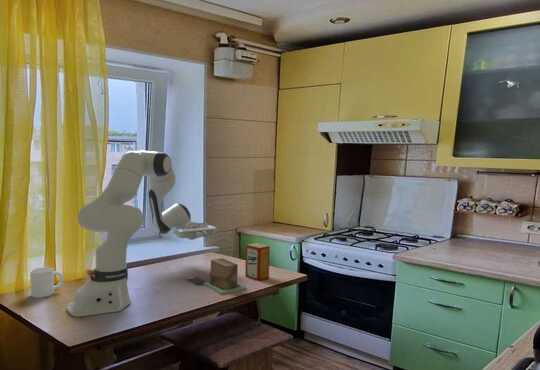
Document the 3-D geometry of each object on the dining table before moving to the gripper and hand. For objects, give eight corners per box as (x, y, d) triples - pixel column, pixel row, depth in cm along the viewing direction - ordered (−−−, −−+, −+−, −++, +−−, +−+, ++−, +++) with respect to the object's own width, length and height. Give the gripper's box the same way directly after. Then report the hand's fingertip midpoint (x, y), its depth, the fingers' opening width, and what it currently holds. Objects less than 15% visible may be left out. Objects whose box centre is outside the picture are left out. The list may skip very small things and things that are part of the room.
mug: (61, 288, 178) (61, 265, 177) (65, 294, 172) (65, 269, 171) (29, 293, 171) (28, 269, 170) (32, 299, 164) (31, 274, 164)
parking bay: (220, 294, 175) (220, 292, 174) (203, 284, 187) (203, 282, 187) (246, 288, 182) (246, 286, 182) (228, 279, 195) (228, 277, 195)
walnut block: (225, 291, 179) (225, 266, 178) (210, 283, 189) (210, 259, 188) (237, 289, 182) (237, 264, 181) (222, 281, 193) (222, 258, 192)
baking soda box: (245, 276, 201) (245, 243, 199) (255, 274, 205) (255, 242, 204) (258, 281, 194) (259, 247, 193) (268, 278, 198) (269, 245, 197)
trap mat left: (197, 285, 186) (197, 284, 186) (187, 279, 194) (187, 278, 194) (207, 283, 189) (207, 282, 189) (197, 277, 197) (197, 277, 197)
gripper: (171, 225, 203) (184, 229, 192) (209, 222, 215) (222, 226, 204) (171, 238, 203) (184, 243, 192) (208, 235, 215) (222, 239, 204)
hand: (204, 234), depth 198 cm, fingers closed
